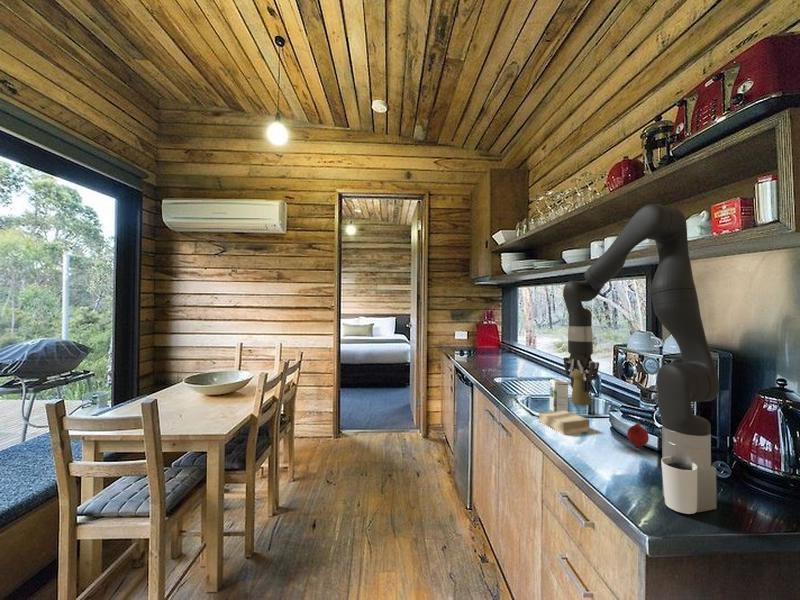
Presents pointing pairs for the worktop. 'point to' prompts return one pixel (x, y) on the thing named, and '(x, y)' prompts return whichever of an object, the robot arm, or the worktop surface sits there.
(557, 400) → the syrup box
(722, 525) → the worktop surface
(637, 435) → the onion
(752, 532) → the worktop surface
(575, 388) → the cork
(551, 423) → the birch block
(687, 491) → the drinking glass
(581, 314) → the robot arm
